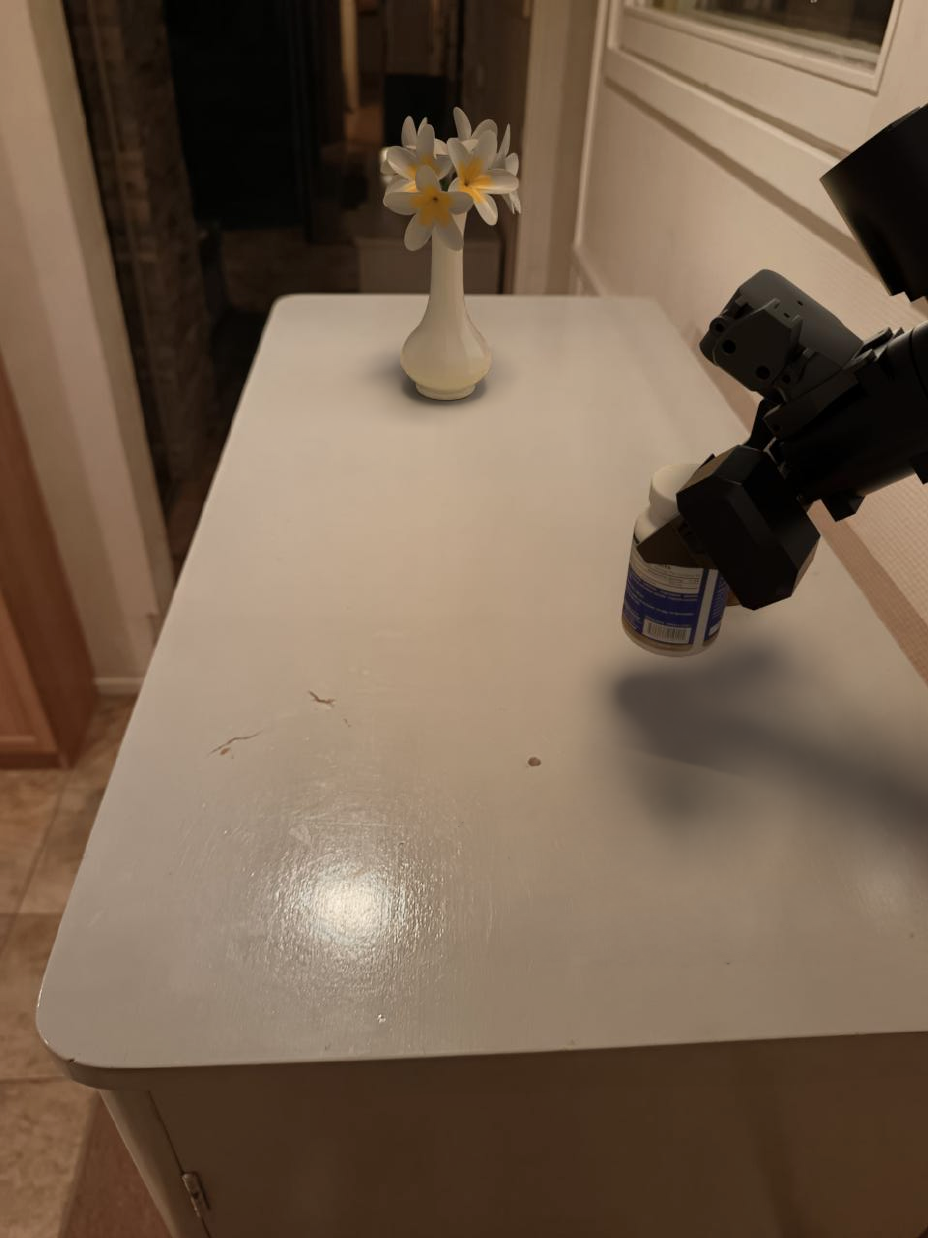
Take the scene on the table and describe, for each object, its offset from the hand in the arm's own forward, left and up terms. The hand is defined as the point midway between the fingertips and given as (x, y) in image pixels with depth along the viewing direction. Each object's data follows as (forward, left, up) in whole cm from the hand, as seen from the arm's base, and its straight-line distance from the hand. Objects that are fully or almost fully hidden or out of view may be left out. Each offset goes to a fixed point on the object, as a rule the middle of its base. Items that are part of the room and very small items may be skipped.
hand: (663, 528), depth 49 cm
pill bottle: (-1, 0, -7) cm, 7 cm away
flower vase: (+25, -39, -12) cm, 48 cm away
